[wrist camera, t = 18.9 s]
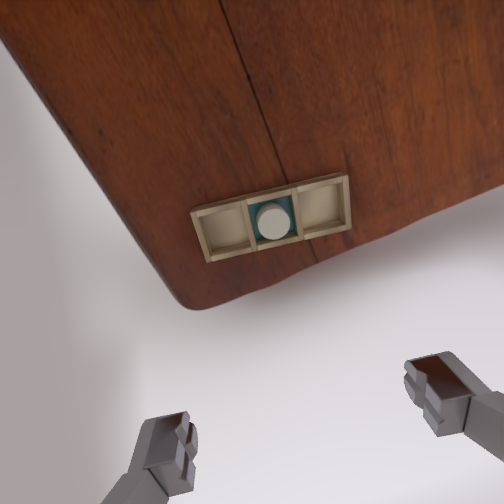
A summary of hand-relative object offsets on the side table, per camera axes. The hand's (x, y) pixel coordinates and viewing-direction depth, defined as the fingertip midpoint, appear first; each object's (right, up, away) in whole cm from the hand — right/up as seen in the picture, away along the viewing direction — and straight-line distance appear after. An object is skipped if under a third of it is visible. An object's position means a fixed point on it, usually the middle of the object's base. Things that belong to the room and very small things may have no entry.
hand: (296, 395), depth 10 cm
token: (+1, +10, +22) cm, 24 cm away
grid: (+1, +10, +22) cm, 24 cm away
